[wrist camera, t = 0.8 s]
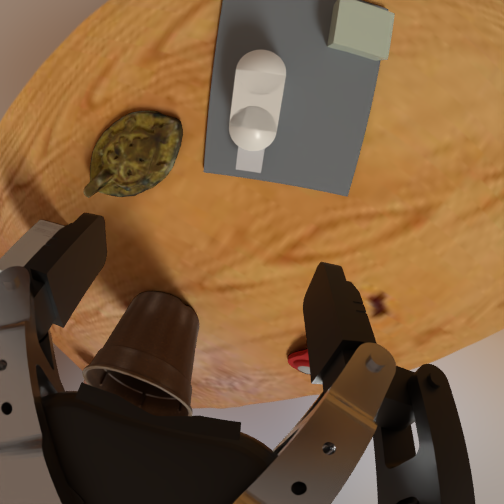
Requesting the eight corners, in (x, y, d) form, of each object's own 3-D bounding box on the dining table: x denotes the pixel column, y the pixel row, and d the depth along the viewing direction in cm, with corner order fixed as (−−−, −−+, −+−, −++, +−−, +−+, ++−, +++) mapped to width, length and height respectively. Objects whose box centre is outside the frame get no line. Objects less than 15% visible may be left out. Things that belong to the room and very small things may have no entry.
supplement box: (39, 217, 36) (-9, 264, 26) (72, 227, 37) (23, 280, 27) (47, 253, 41) (7, 301, 30) (78, 264, 41) (38, 317, 31)
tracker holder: (282, 372, 51) (291, 354, 43) (288, 352, 53) (298, 331, 46) (341, 388, 48) (360, 373, 41) (345, 368, 51) (365, 349, 44)
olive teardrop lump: (161, 86, 26) (82, 160, 32) (140, 85, 22) (60, 169, 28) (204, 151, 30) (118, 214, 35) (190, 159, 26) (99, 229, 31)
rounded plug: (246, 52, 22) (239, 47, 18) (287, 57, 22) (289, 53, 18) (232, 158, 29) (224, 174, 25) (270, 163, 29) (268, 180, 25)
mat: (227, -20, 18) (226, -22, 17) (386, 10, 18) (388, 9, 17) (205, 170, 31) (203, 172, 30) (346, 194, 31) (347, 196, 30)
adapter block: (333, 4, 18) (340, -4, 15) (382, 19, 18) (394, 13, 15) (327, 46, 21) (333, 42, 18) (375, 60, 21) (387, 59, 18)
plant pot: (221, 347, 49) (205, 429, 36) (143, 343, 52) (117, 413, 38) (198, 278, 40) (164, 376, 27) (108, 280, 42) (62, 358, 29)
